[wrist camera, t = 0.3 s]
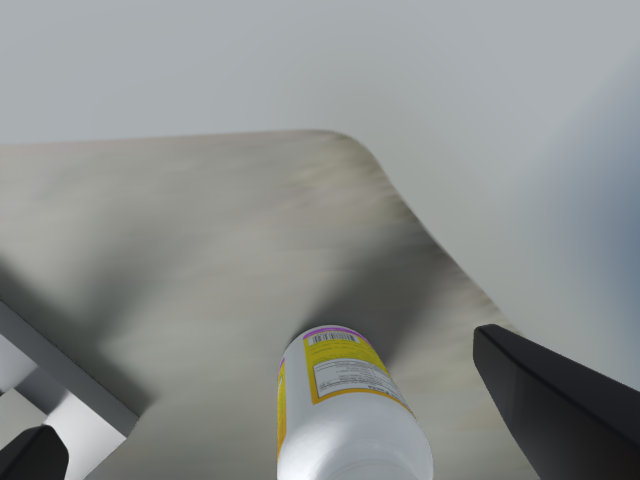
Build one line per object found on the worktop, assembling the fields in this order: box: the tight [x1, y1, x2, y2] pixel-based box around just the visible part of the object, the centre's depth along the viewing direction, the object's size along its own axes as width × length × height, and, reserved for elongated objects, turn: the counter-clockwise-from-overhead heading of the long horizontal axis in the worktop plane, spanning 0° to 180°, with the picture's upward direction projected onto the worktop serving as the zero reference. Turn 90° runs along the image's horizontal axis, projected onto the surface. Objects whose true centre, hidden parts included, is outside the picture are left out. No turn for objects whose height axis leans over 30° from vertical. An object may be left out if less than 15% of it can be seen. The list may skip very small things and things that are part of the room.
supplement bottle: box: [277, 325, 434, 480], centre depth 19 cm, size 7×7×13 cm
